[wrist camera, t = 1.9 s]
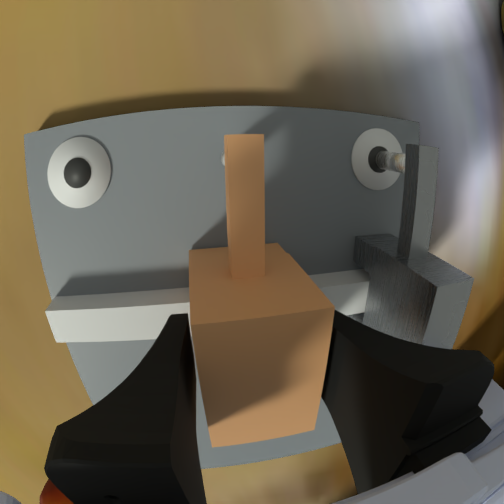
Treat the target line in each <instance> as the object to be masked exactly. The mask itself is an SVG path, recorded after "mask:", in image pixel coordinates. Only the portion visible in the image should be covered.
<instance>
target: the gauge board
mask: <svg viewBox="0 0 504 504" xmlns="http://www.w3.org/2000/svg"><path fill="white" fill-rule="evenodd" d="M231 134H264V180H265V244H268V243H278V244H279V245H280V246H281V247H282V248H283V250H284V251H285V252H286V253H289V254H290V255H291V256H292V257H293V259H294V260H295V261H296V262H297V263H298V264H299V265H300V267H301V268H302V269H303V270H304V271H305V272H306V274H307V275H308V276H309V277H310V278H311V279H312V281H313V282H314V283H315V284H316V285H317V286H318V288H319V289H320V290H321V291H322V292H323V293H324V295H325V296H326V297H327V298H328V299H329V300H330V302H331V303H332V304H333V305H334V306H335V310H337V311H339V312H341V313H342V314H344V315H352V314H357V313H362V312H364V311H365V306H366V300H367V293H368V287H369V280H370V274H369V273H368V272H367V271H365V270H364V269H363V268H362V267H360V266H359V265H358V264H356V263H355V262H354V261H353V256H354V245H355V236H362V235H376V234H392V235H394V236H396V237H398V238H399V230H400V222H401V212H402V202H403V189H404V174H403V173H398V172H394V171H389V170H384V169H380V168H379V167H378V166H377V164H376V155H377V154H378V153H379V152H380V151H387V152H395V153H403V154H405V151H406V144H416V145H419V122H414V121H409V120H403V119H397V118H392V117H385V116H379V115H372V114H364V113H357V112H348V111H339V110H328V109H316V108H301V107H280V106H214V107H193V108H178V109H166V110H155V111H146V112H137V113H130V114H122V115H115V116H109V117H103V118H97V119H91V120H86V121H80V122H75V123H70V124H66V125H61V126H57V127H52V128H48V129H44V130H40V131H36V132H32V133H28V134H25V135H24V145H25V161H26V172H27V182H28V190H29V198H30V205H31V211H32V218H33V223H34V229H35V234H36V239H37V244H38V249H39V253H40V258H41V262H42V266H43V270H44V274H45V278H46V281H47V285H48V289H49V292H50V296H51V299H52V302H51V303H50V305H49V306H48V308H47V309H46V310H45V312H46V315H47V318H48V321H49V324H50V327H51V329H52V332H53V335H54V337H55V340H56V342H66V343H67V346H68V349H69V351H70V354H71V356H72V359H73V361H74V364H75V366H76V368H77V371H78V373H79V375H80V378H81V380H82V382H83V384H84V386H85V389H86V391H87V393H88V395H89V397H90V399H91V401H92V403H93V405H95V404H96V403H97V402H99V401H100V400H101V399H103V398H104V397H105V396H107V395H108V394H109V393H110V392H111V391H113V390H114V389H115V388H116V387H117V386H118V385H119V384H121V383H122V382H123V381H124V380H125V379H126V378H127V377H128V376H129V375H130V373H131V372H132V371H133V370H134V369H135V368H136V367H137V365H138V364H139V363H140V362H141V360H142V359H143V358H144V356H145V355H146V354H147V352H148V351H149V350H150V348H151V347H152V345H153V344H154V342H155V340H156V339H157V337H158V336H159V334H160V332H161V331H162V329H163V327H164V325H165V323H166V322H167V320H168V317H169V316H170V315H171V314H182V313H188V318H189V325H190V299H189V250H195V249H206V248H219V247H228V237H227V213H226V185H225V166H224V165H223V164H222V161H221V155H222V153H223V151H224V135H231ZM190 332H191V325H190ZM191 339H192V332H191ZM192 345H193V339H192ZM193 352H194V346H193ZM194 359H195V352H194ZM195 369H196V379H197V384H196V433H197V444H198V452H199V459H200V466H201V469H205V468H216V467H225V466H233V465H241V464H247V463H254V462H260V461H265V460H271V459H276V458H281V457H286V456H291V455H295V454H299V453H304V452H308V451H312V450H316V449H320V448H323V447H327V446H330V445H334V444H337V443H341V439H340V437H339V434H338V432H337V429H336V427H335V424H334V422H333V419H332V417H331V414H330V412H329V410H328V408H327V406H326V405H325V403H324V401H323V399H322V397H321V399H320V405H319V410H318V415H317V419H316V424H315V429H314V430H312V431H308V432H303V433H299V434H294V435H290V436H285V437H280V438H275V439H269V440H264V441H258V442H251V443H245V444H238V445H230V446H222V447H212V444H211V440H210V435H209V430H208V425H207V420H206V415H205V410H204V405H203V399H202V394H201V388H200V383H199V377H198V371H197V365H196V359H195Z"/></svg>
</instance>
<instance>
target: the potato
mask: <svg viewBox="0 0 504 504" xmlns="http://www.w3.org/2000/svg"><path fill="white" fill-rule="evenodd" d="M501 20H502V29H503V34H504V1H503V3H502V8H501Z"/></svg>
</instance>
